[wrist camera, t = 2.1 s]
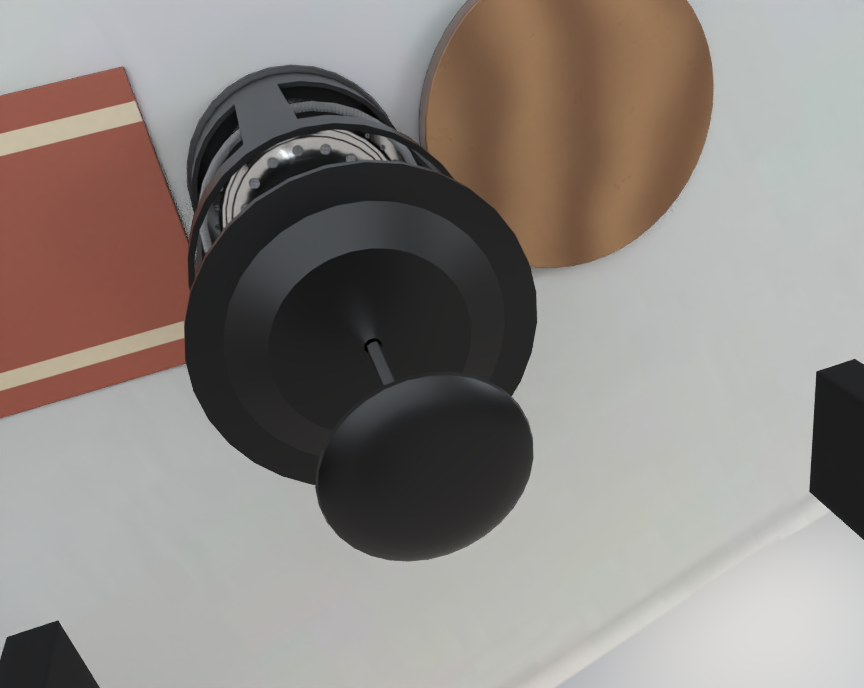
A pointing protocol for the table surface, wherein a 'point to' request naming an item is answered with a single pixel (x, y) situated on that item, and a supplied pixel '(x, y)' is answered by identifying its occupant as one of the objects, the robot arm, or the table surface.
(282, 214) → the french press
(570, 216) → the brown wooden round trivet
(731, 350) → the table surface
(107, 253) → the napkin
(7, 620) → the table surface
